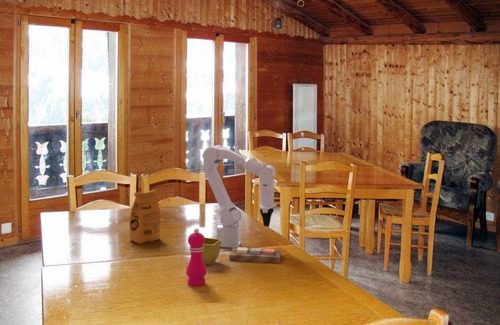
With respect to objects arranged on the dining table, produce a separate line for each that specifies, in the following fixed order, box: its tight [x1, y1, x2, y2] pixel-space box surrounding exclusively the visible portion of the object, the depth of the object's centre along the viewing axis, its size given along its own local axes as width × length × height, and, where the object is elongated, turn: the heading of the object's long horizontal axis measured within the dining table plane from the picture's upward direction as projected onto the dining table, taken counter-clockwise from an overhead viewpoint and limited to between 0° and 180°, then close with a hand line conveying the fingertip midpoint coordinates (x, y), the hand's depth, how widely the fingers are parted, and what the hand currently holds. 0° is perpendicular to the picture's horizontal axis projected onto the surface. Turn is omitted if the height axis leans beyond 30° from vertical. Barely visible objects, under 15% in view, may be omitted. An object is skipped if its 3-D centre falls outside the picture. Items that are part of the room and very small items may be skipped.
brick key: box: [264, 248, 276, 255], centre depth 244 cm, size 4×4×3 cm
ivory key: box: [237, 246, 249, 254], centre depth 245 cm, size 4×4×3 cm
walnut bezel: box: [228, 248, 282, 264], centre depth 245 cm, size 20×10×2 cm, turn 83°
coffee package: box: [129, 189, 161, 244], centre depth 268 cm, size 10×12×22 cm
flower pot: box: [202, 237, 221, 266], centre depth 237 cm, size 9×9×9 cm
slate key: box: [250, 247, 262, 255], centre depth 245 cm, size 4×4×3 cm
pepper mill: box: [185, 228, 208, 287], centre depth 212 cm, size 7×7×20 cm
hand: (266, 225), depth 255 cm, fingers closed
